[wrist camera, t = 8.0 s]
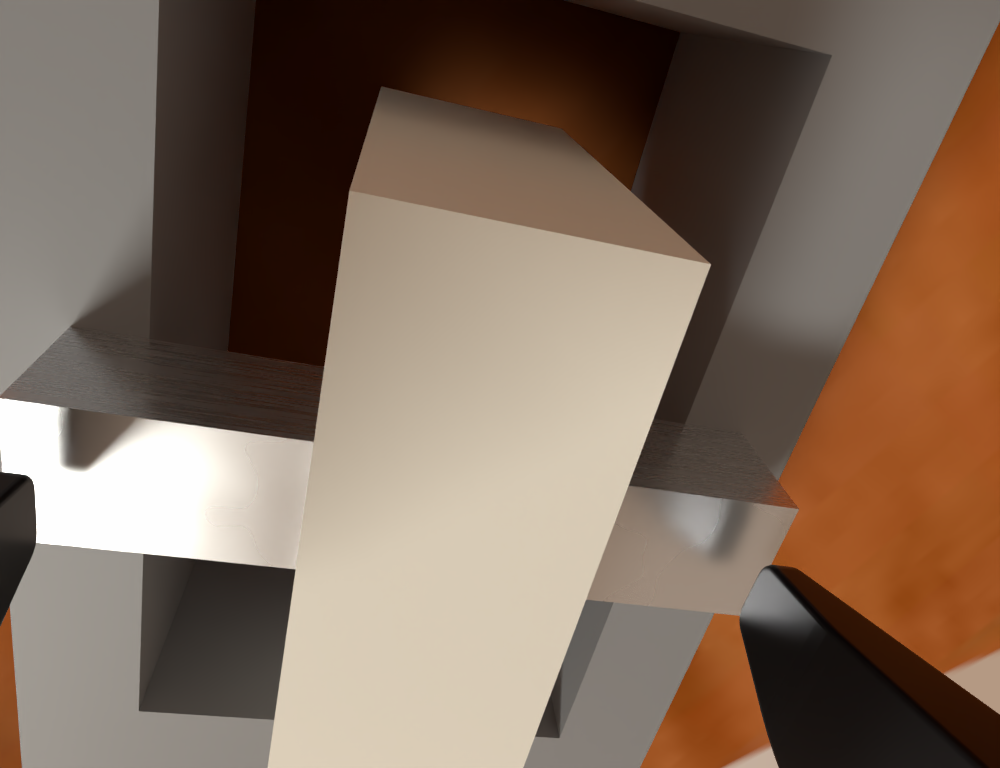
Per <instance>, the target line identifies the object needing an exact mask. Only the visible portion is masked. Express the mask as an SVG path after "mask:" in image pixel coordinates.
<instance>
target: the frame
mask: <svg viewBox="0 0 1000 768" xmlns="http://www.w3.org/2000/svg"><path fill="white" fill-rule="evenodd" d="M564 1H568V2H572V3H575V4H579V5H583V6H586V7H590V8H594V9H597V10H601V11H605V12H608V13H612V14H615V15H619V16H623V17H626V18H630V19H634V20H637V21H641V22H645V23H648V24H652V25H656V26H659V27H663V28H667V29H670V30H674V31H678V32H680V35H679V38H678V41H677V45H676V48H675V51H674V54H673V58H672V61H671V64H670V67H669V70H668V74H667V77H666V80H665V83H664V86H663V90H662V93H661V96H660V99H659V102H658V106H657V109H656V112H655V115H654V118H653V122H652V125H651V128H650V131H649V134H648V138H647V141H646V144H645V147H644V150H643V154H642V157H641V160H640V163H639V167H638V170H637V173H636V176H635V179H634V183H633V186H632V189H631V192H632V193H633V194H634V195H635V196H636V197H637V198H638V199H640V200H641V201H642V202H643V203H644V204H645V205H646V206H647V207H648V208H650V209H651V210H652V211H653V212H654V213H655V214H656V215H657V216H658V217H659V218H661V219H662V220H663V221H664V222H665V223H666V224H667V225H668V226H669V227H670V228H672V229H673V230H674V231H675V232H676V233H677V234H678V235H679V236H680V237H681V238H683V239H684V240H685V241H686V242H687V243H688V244H689V245H690V246H691V247H692V248H694V249H695V250H696V251H697V252H698V253H699V254H700V255H701V256H702V257H703V258H705V259H706V260H707V261H708V262H709V263H710V264H711V266H710V269H709V271H708V274H707V277H706V279H705V282H704V285H703V287H702V290H701V293H700V295H699V298H698V301H697V303H696V306H695V309H694V311H693V314H692V317H691V320H690V322H689V325H688V328H687V330H686V333H685V336H684V338H683V341H682V344H681V346H680V349H679V352H678V354H677V357H676V360H675V362H674V365H673V368H672V370H671V373H670V376H669V378H668V381H667V384H666V387H665V389H664V392H663V395H662V397H661V400H660V403H659V405H658V408H657V411H656V413H655V416H654V419H656V420H663V421H669V422H675V423H681V424H688V425H694V426H700V427H707V428H713V429H719V430H726V431H732V432H738V433H742V434H743V435H744V437H745V438H746V439H747V441H748V442H749V443H750V445H751V446H752V447H753V449H754V450H755V451H756V453H757V454H758V455H759V457H760V458H761V459H762V461H763V462H764V463H765V465H766V466H767V467H768V469H769V470H770V471H771V473H772V474H773V475H774V477H775V478H776V479H777V481H778V480H779V478H780V476H781V474H782V472H783V470H784V468H785V465H786V463H787V461H788V459H789V457H790V455H791V453H792V451H793V449H794V447H795V445H796V443H797V441H798V439H799V436H800V434H801V432H802V430H803V428H804V426H805V424H806V422H807V420H808V418H809V416H810V414H811V412H812V409H813V407H814V405H815V403H816V401H817V399H818V397H819V395H820V393H821V391H822V389H823V387H824V385H825V383H826V380H827V378H828V376H829V374H830V372H831V370H832V368H833V366H834V364H835V362H836V360H837V358H838V356H839V354H840V351H841V349H842V347H843V345H844V343H845V341H846V339H847V337H848V335H849V333H850V331H851V329H852V327H853V324H854V322H855V320H856V318H857V316H858V314H859V312H860V310H861V308H862V306H863V304H864V302H865V300H866V298H867V295H868V293H869V291H870V289H871V287H872V285H873V283H874V281H875V279H876V277H877V275H878V273H879V271H880V268H881V266H882V264H883V262H884V260H885V258H886V256H887V254H888V252H889V250H890V248H891V246H892V244H893V242H894V239H895V237H896V235H897V233H898V231H899V229H900V227H901V225H902V223H903V221H904V219H905V217H906V215H907V213H908V210H909V208H910V206H911V204H912V202H913V200H914V198H915V196H916V194H917V192H918V190H919V188H920V186H921V183H922V181H923V179H924V177H925V175H926V173H927V171H928V169H929V167H930V165H931V163H932V161H933V159H934V157H935V154H936V152H937V150H938V148H939V146H940V144H941V142H942V140H943V138H944V136H945V134H946V132H947V130H948V127H949V125H950V123H951V121H952V119H953V117H954V115H955V113H956V111H957V109H958V107H959V105H960V103H961V101H962V98H963V96H964V94H965V92H966V90H967V88H968V86H969V84H970V82H971V80H972V78H973V76H974V74H975V71H976V69H977V67H978V65H979V63H980V61H981V59H982V57H983V55H984V53H985V51H986V49H987V47H988V45H989V42H990V40H991V38H992V36H993V34H994V32H995V30H996V28H997V26H998V24H999V22H1000V0H564ZM255 8H256V0H0V395H1V394H2V393H3V392H4V391H5V390H6V389H7V388H8V387H9V386H10V385H11V384H12V383H13V382H14V381H15V380H17V379H18V378H19V377H20V376H21V375H22V374H23V373H24V372H25V371H26V370H27V369H28V368H29V367H30V366H31V365H32V364H33V363H34V362H35V361H36V360H37V359H38V358H39V357H40V356H41V355H42V354H43V353H44V352H45V351H46V350H47V349H48V348H49V347H50V346H51V345H52V344H53V343H54V342H55V341H56V340H57V339H58V338H59V337H60V336H61V335H62V334H63V333H64V332H65V331H66V330H67V329H68V328H69V327H70V326H71V327H77V328H83V329H89V330H96V331H102V332H108V333H115V334H121V335H127V336H134V337H140V338H146V339H152V340H159V341H165V342H171V343H178V344H184V345H190V346H197V347H203V348H209V349H215V350H222V351H228V344H229V332H230V319H231V307H232V294H233V282H234V269H235V257H236V244H237V232H238V220H239V207H240V195H241V182H242V170H243V157H244V145H245V132H246V120H247V108H248V95H249V83H250V70H251V58H252V45H253V33H254V20H255ZM0 471H1V472H3V467H2V453H1V439H0ZM295 570H296V569H288V568H278V567H268V566H259V565H249V564H240V563H230V562H220V561H211V560H201V559H192V558H182V557H172V556H163V555H153V554H144V553H134V552H124V551H115V550H105V549H96V548H86V547H76V546H67V545H57V544H48V543H38V542H36V546H35V550H34V553H33V555H32V558H31V560H30V562H29V564H28V566H27V569H26V571H25V573H24V575H23V577H22V580H21V582H20V584H19V586H18V588H17V591H16V593H15V595H14V597H13V599H12V602H11V604H10V613H11V626H12V639H13V653H14V666H15V679H16V693H17V706H18V719H19V732H20V746H21V759H22V768H268V761H269V754H270V747H271V740H272V732H273V725H274V718H275V711H276V704H277V697H278V690H279V683H280V676H281V669H282V662H283V655H284V648H285V641H286V634H287V627H288V620H289V613H290V606H291V599H292V592H293V585H294V578H295ZM713 615H714V613H710V612H700V611H691V610H681V609H672V608H662V607H652V606H643V605H633V604H624V603H614V602H604V601H595V600H586V601H585V604H584V606H583V609H582V612H581V614H580V617H579V620H578V622H577V625H576V628H575V630H574V633H573V636H572V638H571V641H570V644H569V647H568V649H567V652H566V655H565V657H564V660H563V663H562V665H561V668H560V671H559V673H558V676H557V679H556V681H555V684H554V687H553V689H552V692H551V695H550V697H549V700H548V703H547V706H546V708H545V711H544V714H543V716H542V719H541V722H540V724H539V727H538V730H537V732H536V735H535V738H534V740H533V743H532V746H531V748H530V751H529V754H528V756H527V759H526V762H525V764H524V767H523V768H640V766H641V764H642V762H643V760H644V758H645V756H646V754H647V752H648V750H649V747H650V745H651V743H652V741H653V739H654V737H655V735H656V733H657V731H658V729H659V727H660V725H661V723H662V721H663V718H664V716H665V714H666V712H667V710H668V708H669V706H670V704H671V702H672V700H673V698H674V696H675V694H676V691H677V689H678V687H679V685H680V683H681V681H682V679H683V677H684V675H685V673H686V671H687V669H688V667H689V665H690V662H691V660H692V658H693V656H694V654H695V652H696V650H697V648H698V646H699V644H700V642H701V640H702V638H703V636H704V633H705V631H706V629H707V627H708V625H709V623H710V621H711V619H712V617H713Z"/></svg>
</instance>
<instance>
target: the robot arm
mask: <svg viewBox="0 0 1000 768" xmlns="http://www.w3.org/2000/svg"><path fill="white" fill-rule="evenodd" d="M36 541H37V517H36V497H35V485H34V482H33V480H32V478H30V477H29V476H28V475H25V474H18V473H10V472H1V471H0V626H1V623H2V621H3V619H4V617H5V615H6V612H7V610H8V608H9V606H10V604H11V602H12V599H13V597H14V595H15V593H16V591H17V588H18V586H19V584H20V582H21V580H22V577H23V575H24V573H25V571H26V569H27V566H28V564H29V562H30V560H31V558H32V555H33V553H34V550H35V546H36ZM740 629H741V633H742V637H743V641H744V645H745V649H746V653H747V657H748V661H749V665H750V669H751V673H752V677H753V681H754V685H755V689H756V693H757V697H758V701H759V705H760V709H761V713H762V717H763V720H764V724H765V727H766V731H767V734H768V738H769V741H770V744H771V747H772V749H773V753H774V756H775V758H776V761H777V764H778V766H779V768H1000V714H998V713H997V712H995V711H994V710H992V709H991V708H990V707H988V706H987V705H986V704H984V703H983V702H981V701H980V700H979V699H977V698H976V697H975V696H973V695H971V694H970V693H969V692H968V691H966V690H965V689H963V688H962V687H961V686H959V685H958V684H957V683H955V682H954V681H952V680H951V679H950V678H948V677H947V676H945V675H944V674H943V673H941V672H940V671H939V670H937V669H936V668H934V667H933V666H932V665H930V664H929V663H927V662H926V661H925V660H923V659H922V658H920V657H919V656H918V655H916V654H915V653H914V652H912V651H911V650H909V649H908V648H907V647H905V646H904V645H902V644H901V643H900V642H898V641H897V640H896V639H894V638H893V637H891V636H890V635H889V634H887V633H886V632H884V631H883V630H882V629H880V628H879V627H878V626H876V625H875V624H873V623H872V622H871V621H869V620H868V619H866V618H865V617H864V616H862V615H861V614H860V613H858V612H857V611H855V610H854V609H853V608H851V607H850V606H848V605H847V604H846V603H844V602H843V601H841V600H840V599H839V598H837V597H836V596H835V595H833V594H832V593H830V592H829V591H828V590H826V589H825V588H823V587H822V586H821V585H819V584H818V583H817V582H815V581H814V580H812V579H811V578H810V577H808V576H807V575H805V574H804V573H803V572H801V571H800V570H798V569H796V568H793V567H786V566H778V565H768V566H765V567H764V568H763V569H762V570H761V571H760V573H759V574H758V576H757V578H756V580H755V582H754V584H753V586H752V588H751V590H750V592H749V594H748V596H747V598H746V600H745V602H744V604H743V606H742V609H741V613H740Z"/></svg>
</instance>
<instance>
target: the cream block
mask: <svg viewBox="0 0 1000 768" xmlns="http://www.w3.org/2000/svg"><path fill="white" fill-rule="evenodd" d="M710 266H711V264H710V263H709V262H708V261H707V260H706V259H705V258H703V257H702V256H701V255H700V254H699V253H698V252H697V251H696V250H695V249H694V248H692V247H691V246H690V245H689V244H688V243H687V242H686V241H685V240H684V239H683V238H681V237H680V236H679V235H678V234H677V233H676V232H675V231H674V230H673V229H672V228H670V227H669V226H668V225H667V224H666V223H665V222H664V221H663V220H662V219H661V218H659V217H658V216H657V215H656V214H655V213H654V212H653V211H652V210H651V209H650V208H648V207H647V206H646V205H645V204H644V203H643V202H642V201H641V200H640V199H638V198H637V197H636V196H635V195H634V194H633V193H632V192H631V191H630V190H629V189H627V188H626V187H625V186H624V185H623V184H622V183H621V182H620V181H619V180H618V179H616V178H615V177H614V176H613V175H612V174H611V173H610V172H609V171H608V170H607V169H605V168H604V167H603V166H602V165H601V164H600V163H599V162H598V161H597V160H596V159H594V158H593V157H592V156H591V155H590V154H589V153H588V152H587V151H586V150H584V149H583V148H582V147H581V146H580V145H579V144H578V143H577V142H576V141H575V140H573V139H572V138H571V137H570V136H569V135H568V134H567V133H566V132H565V131H564V130H562V129H561V128H557V127H553V126H549V125H544V124H540V123H536V122H532V121H527V120H523V119H519V118H515V117H510V116H506V115H502V114H497V113H493V112H489V111H485V110H480V109H476V108H472V107H467V106H463V105H459V104H455V103H450V102H446V101H442V100H438V99H433V98H429V97H425V96H420V95H416V94H412V93H408V92H403V91H399V90H395V89H391V88H386V87H382V86H381V89H380V92H379V95H378V99H377V102H376V105H375V108H374V112H373V115H372V118H371V121H370V125H369V128H368V131H367V135H366V138H365V141H364V144H363V148H362V151H361V154H360V158H359V161H358V164H357V167H356V171H355V174H354V177H353V180H352V184H351V187H350V190H349V197H348V204H347V211H346V218H345V225H344V232H343V239H342V246H341V254H340V261H339V268H338V275H337V282H336V289H335V296H334V303H333V310H332V317H331V324H330V331H329V338H328V345H327V352H326V359H325V366H324V373H323V380H322V387H321V394H320V401H319V408H318V416H317V423H316V430H315V437H314V444H313V451H312V458H311V465H310V472H309V479H308V486H307V493H306V500H305V507H304V514H303V521H302V528H301V535H300V542H299V549H298V556H297V563H296V570H295V578H294V585H293V592H292V599H291V606H290V613H289V620H288V627H287V634H286V641H285V648H284V655H283V662H282V669H281V676H280V683H279V690H278V697H277V704H276V711H275V718H274V725H273V732H272V740H271V747H270V754H269V761H268V768H523V767H524V764H525V762H526V759H527V756H528V754H529V751H530V748H531V746H532V743H533V740H534V738H535V735H536V732H537V730H538V727H539V724H540V722H541V719H542V716H543V714H544V711H545V708H546V706H547V703H548V700H549V697H550V695H551V692H552V689H553V687H554V684H555V681H556V679H557V676H558V673H559V671H560V668H561V665H562V663H563V660H564V657H565V655H566V652H567V649H568V647H569V644H570V641H571V638H572V636H573V633H574V630H575V628H576V625H577V622H578V620H579V617H580V614H581V612H582V609H583V606H584V604H585V601H586V598H587V596H588V593H589V590H590V588H591V585H592V582H593V580H594V577H595V574H596V571H597V569H598V566H599V563H600V561H601V558H602V555H603V553H604V550H605V547H606V545H607V542H608V539H609V537H610V534H611V531H612V529H613V526H614V523H615V521H616V518H617V515H618V513H619V510H620V507H621V504H622V502H623V499H624V496H625V494H626V491H627V488H628V486H629V483H630V480H631V478H632V475H633V472H634V470H635V467H636V464H637V462H638V459H639V456H640V454H641V451H642V448H643V445H644V443H645V440H646V437H647V435H648V432H649V429H650V427H651V424H652V421H653V419H654V416H655V413H656V411H657V408H658V405H659V403H660V400H661V397H662V395H663V392H664V389H665V387H666V384H667V381H668V378H669V376H670V373H671V370H672V368H673V365H674V362H675V360H676V357H677V354H678V352H679V349H680V346H681V344H682V341H683V338H684V336H685V333H686V330H687V328H688V325H689V322H690V320H691V317H692V314H693V311H694V309H695V306H696V303H697V301H698V298H699V295H700V293H701V290H702V287H703V285H704V282H705V279H706V277H707V274H708V271H709V269H710Z"/></svg>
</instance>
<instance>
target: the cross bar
mask: <svg viewBox="0 0 1000 768" xmlns="http://www.w3.org/2000/svg"><path fill="white" fill-rule="evenodd" d="M323 373H324V367H322V366H316V365H310V364H304V363H297V362H291V361H285V360H278V359H272V358H266V357H260V356H253V355H247V354H241V353H234V352H228V351H222V350H215V349H209V348H203V347H197V346H190V345H184V344H178V343H171V342H165V341H159V340H152V339H146V338H140V337H134V336H127V335H121V334H115V333H108V332H102V331H96V330H89V329H83V328H77V327H71V326H70V327H69V328H68V329H67V330H66V331H65V332H64V333H63V334H62V335H61V336H60V337H59V338H58V339H57V340H56V341H55V342H54V343H53V344H52V345H51V346H50V347H49V348H48V349H47V350H46V351H45V352H44V353H43V354H42V355H41V356H40V357H39V358H38V359H37V360H36V361H35V362H34V363H33V364H32V365H31V366H30V367H29V368H28V369H27V370H26V371H25V372H24V373H23V374H22V375H21V376H20V377H19V378H18V379H17V380H15V381H14V382H13V383H12V384H11V385H10V386H9V387H8V388H7V389H6V390H5V391H4V392H3V393H2V394H1V395H0V439H1V453H2V467H3V472H10V473H18V474H25V475H28V476H29V477H30V478H32V480H33V482H34V485H35V497H36V517H37V541H36V542H38V543H48V544H57V545H67V546H76V547H86V548H96V549H105V550H115V551H124V552H134V553H144V554H153V555H163V556H172V557H182V558H192V559H201V560H211V561H220V562H230V563H240V564H249V565H259V566H268V567H278V568H288V569H296V563H297V556H298V549H299V542H300V535H301V528H302V521H303V514H304V507H305V500H306V493H307V486H308V479H309V472H310V465H311V458H312V451H313V444H314V437H315V430H316V423H317V416H318V408H319V401H320V394H321V387H322V380H323ZM798 510H799V508H798V507H797V506H796V504H795V503H794V502H793V500H792V499H791V498H790V497H789V495H788V494H787V493H786V491H785V490H784V489H783V487H782V486H781V485H780V483H779V482H778V481H777V479H776V478H775V477H774V475H773V474H772V473H771V471H770V470H769V469H768V467H767V466H766V465H765V463H764V462H763V461H762V459H761V458H760V457H759V455H758V454H757V453H756V451H755V450H754V449H753V447H752V446H751V445H750V443H749V442H748V441H747V439H746V438H745V437H744V435H743V434H742V433H738V432H732V431H726V430H719V429H713V428H707V427H700V426H694V425H688V424H681V423H675V422H669V421H663V420H656V419H653V421H652V424H651V427H650V429H649V432H648V435H647V437H646V440H645V443H644V445H643V448H642V451H641V454H640V456H639V459H638V462H637V464H636V467H635V470H634V472H633V475H632V478H631V480H630V483H629V486H628V488H627V491H626V494H625V496H624V499H623V502H622V504H621V507H620V510H619V513H618V515H617V518H616V521H615V523H614V526H613V529H612V531H611V534H610V537H609V539H608V542H607V545H606V547H605V550H604V553H603V555H602V558H601V561H600V563H599V566H598V569H597V571H596V574H595V577H594V580H593V582H592V585H591V588H590V590H589V593H588V596H587V598H586V600H595V601H604V602H614V603H624V604H633V605H643V606H652V607H662V608H672V609H681V610H691V611H700V612H710V613H720V614H729V615H739V616H740V613H741V609H742V606H743V604H744V602H745V600H746V598H747V596H748V594H749V592H750V590H751V588H752V586H753V584H754V582H755V580H756V578H757V576H758V574H759V573H760V571H761V570H762V569H763V568H764V567H765V566H768V565H771V563H772V561H773V559H774V557H775V555H776V554H777V552H778V550H779V548H780V546H781V544H782V542H783V540H784V538H785V536H786V534H787V532H788V530H789V528H790V526H791V524H792V522H793V520H794V518H795V516H796V514H797V512H798Z"/></svg>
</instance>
